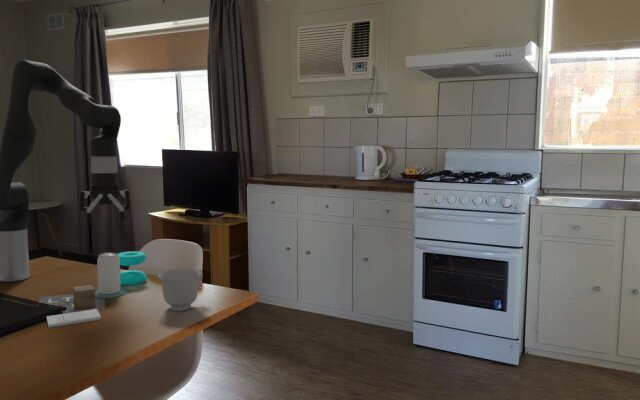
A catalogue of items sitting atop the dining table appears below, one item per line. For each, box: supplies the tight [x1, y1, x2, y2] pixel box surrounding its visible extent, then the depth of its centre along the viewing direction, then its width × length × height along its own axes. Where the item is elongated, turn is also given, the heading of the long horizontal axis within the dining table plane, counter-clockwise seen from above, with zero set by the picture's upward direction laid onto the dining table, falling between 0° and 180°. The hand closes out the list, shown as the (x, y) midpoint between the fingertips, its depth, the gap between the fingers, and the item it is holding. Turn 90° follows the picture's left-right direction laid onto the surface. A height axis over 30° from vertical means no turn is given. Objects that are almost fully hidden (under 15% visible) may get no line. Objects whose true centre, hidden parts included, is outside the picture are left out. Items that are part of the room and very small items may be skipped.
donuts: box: [118, 250, 148, 286], centre depth 174 cm, size 10×10×10 cm
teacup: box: [157, 268, 204, 312], centre depth 148 cm, size 12×15×10 cm
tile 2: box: [61, 298, 106, 314], centre depth 149 cm, size 11×11×1 cm
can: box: [96, 252, 122, 295], centre depth 160 cm, size 6×6×12 cm
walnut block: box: [72, 284, 96, 309], centre depth 149 cm, size 5×5×5 cm
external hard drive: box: [46, 309, 102, 328], centre depth 137 cm, size 2×8×12 cm
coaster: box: [95, 287, 128, 299], centre depth 161 cm, size 10×10×1 cm
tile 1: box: [38, 293, 74, 307], centre depth 153 cm, size 11×11×1 cm
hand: (106, 224), depth 158 cm, fingers open, 8 cm apart
